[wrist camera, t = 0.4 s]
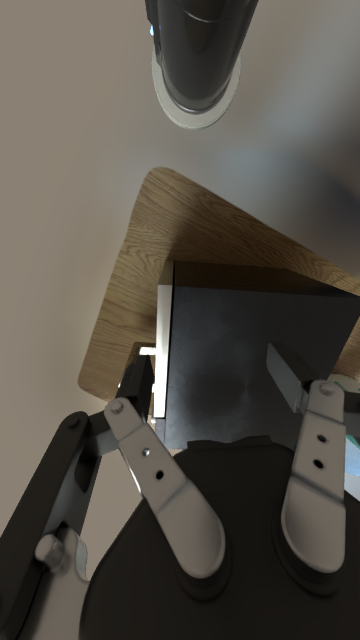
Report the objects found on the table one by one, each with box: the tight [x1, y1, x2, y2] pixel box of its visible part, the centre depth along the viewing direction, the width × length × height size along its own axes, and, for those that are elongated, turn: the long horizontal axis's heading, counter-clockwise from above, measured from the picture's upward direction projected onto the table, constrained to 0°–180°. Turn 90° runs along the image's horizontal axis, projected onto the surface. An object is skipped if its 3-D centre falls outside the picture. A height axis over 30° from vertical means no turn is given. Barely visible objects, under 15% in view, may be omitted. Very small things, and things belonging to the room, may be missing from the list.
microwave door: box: [119, 260, 174, 417], centre depth 34 cm, size 8×21×18 cm, turn 176°
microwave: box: [151, 261, 360, 449], centre depth 36 cm, size 24×28×18 cm
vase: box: [327, 374, 360, 449], centre depth 44 cm, size 12×12×18 cm
